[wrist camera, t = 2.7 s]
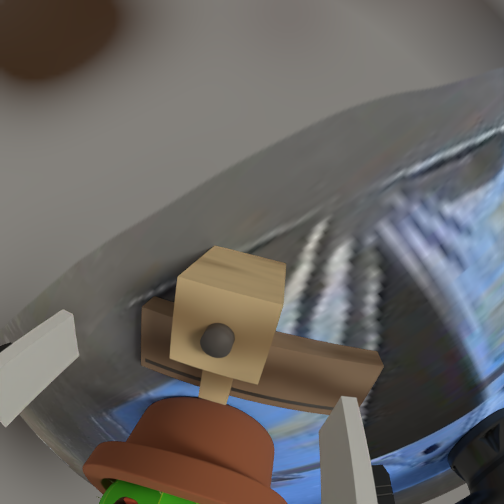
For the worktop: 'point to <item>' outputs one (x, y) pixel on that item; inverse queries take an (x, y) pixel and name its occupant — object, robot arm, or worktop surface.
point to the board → (272, 366)
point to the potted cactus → (187, 458)
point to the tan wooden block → (226, 318)
